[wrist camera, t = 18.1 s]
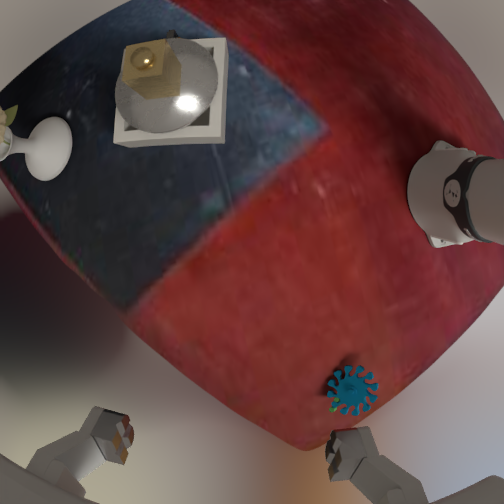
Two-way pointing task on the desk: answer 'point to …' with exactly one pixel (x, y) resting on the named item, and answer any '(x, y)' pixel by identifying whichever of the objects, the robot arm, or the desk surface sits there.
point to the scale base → (199, 131)
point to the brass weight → (152, 69)
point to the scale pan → (178, 107)
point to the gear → (351, 390)
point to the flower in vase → (38, 144)
